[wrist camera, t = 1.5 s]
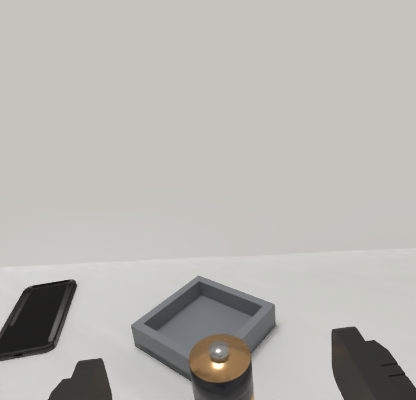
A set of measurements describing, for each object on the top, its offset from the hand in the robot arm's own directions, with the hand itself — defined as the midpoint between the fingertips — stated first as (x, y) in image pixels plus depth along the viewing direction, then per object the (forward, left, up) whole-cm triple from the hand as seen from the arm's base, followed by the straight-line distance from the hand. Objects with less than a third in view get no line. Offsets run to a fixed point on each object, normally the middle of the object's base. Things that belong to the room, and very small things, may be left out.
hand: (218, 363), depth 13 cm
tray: (-18, +18, -21) cm, 33 cm away
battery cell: (-7, +8, -21) cm, 23 cm away
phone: (-40, +8, -21) cm, 46 cm away
